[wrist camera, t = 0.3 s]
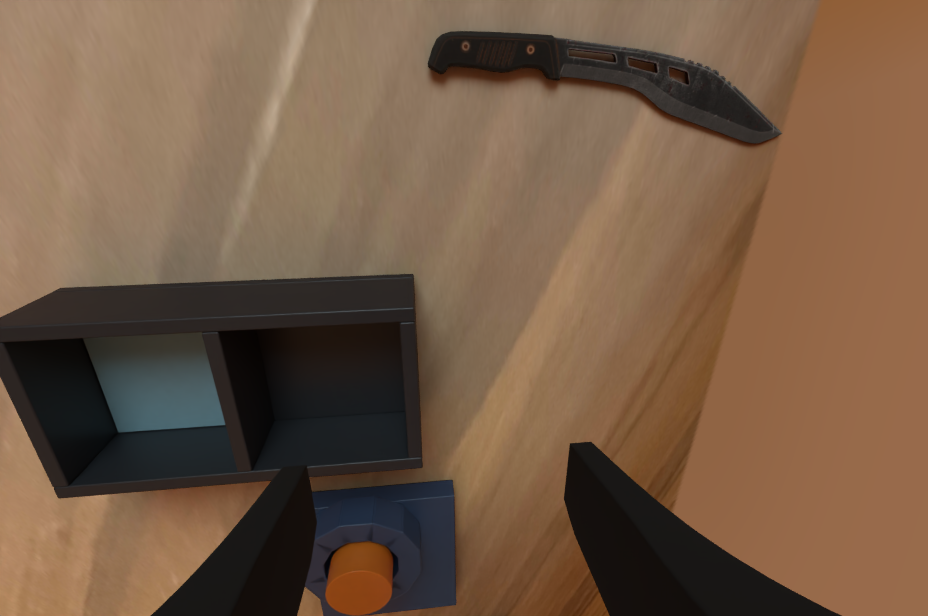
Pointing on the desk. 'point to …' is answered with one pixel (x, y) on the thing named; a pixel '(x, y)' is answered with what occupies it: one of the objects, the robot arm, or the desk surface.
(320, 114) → the desk surface
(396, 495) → the block
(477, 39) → the knife
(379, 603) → the button
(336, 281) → the rack
